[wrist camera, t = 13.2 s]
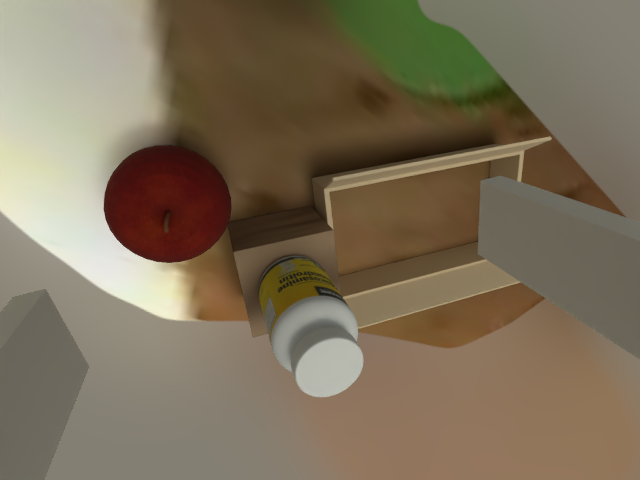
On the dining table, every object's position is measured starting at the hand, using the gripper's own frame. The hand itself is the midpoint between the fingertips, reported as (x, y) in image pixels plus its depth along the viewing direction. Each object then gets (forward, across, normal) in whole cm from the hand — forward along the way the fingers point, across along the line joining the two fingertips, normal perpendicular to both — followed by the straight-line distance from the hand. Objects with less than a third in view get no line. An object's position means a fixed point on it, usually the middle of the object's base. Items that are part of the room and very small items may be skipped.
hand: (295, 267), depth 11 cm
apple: (+28, -6, -4) cm, 29 cm away
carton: (+28, +18, -13) cm, 35 cm away
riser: (+27, +2, -13) cm, 30 cm away
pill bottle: (+20, +2, -13) cm, 23 cm away
